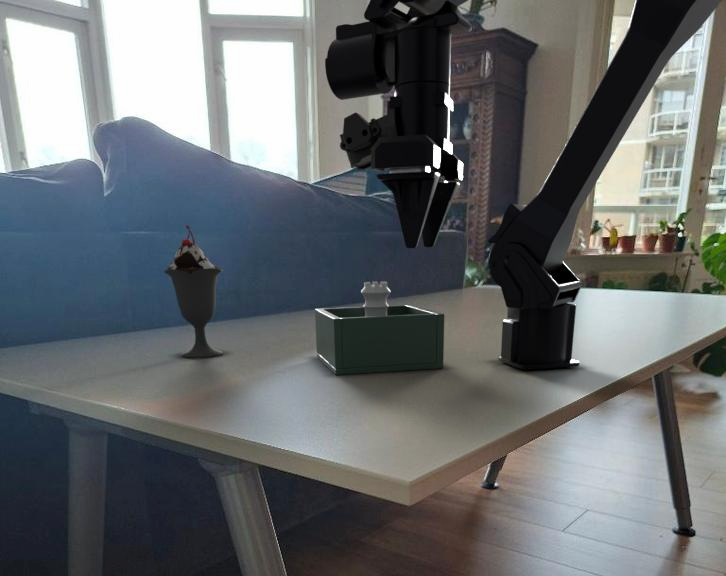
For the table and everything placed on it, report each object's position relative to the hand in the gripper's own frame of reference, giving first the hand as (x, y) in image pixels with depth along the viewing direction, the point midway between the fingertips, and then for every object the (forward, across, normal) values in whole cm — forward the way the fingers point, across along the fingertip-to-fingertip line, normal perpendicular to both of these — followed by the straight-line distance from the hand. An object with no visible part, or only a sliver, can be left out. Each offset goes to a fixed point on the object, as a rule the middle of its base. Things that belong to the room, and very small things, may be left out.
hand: (420, 247), depth 74 cm
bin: (+12, +6, -4) cm, 14 cm away
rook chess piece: (+12, +6, -4) cm, 13 cm away
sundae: (+12, +4, -27) cm, 30 cm away
